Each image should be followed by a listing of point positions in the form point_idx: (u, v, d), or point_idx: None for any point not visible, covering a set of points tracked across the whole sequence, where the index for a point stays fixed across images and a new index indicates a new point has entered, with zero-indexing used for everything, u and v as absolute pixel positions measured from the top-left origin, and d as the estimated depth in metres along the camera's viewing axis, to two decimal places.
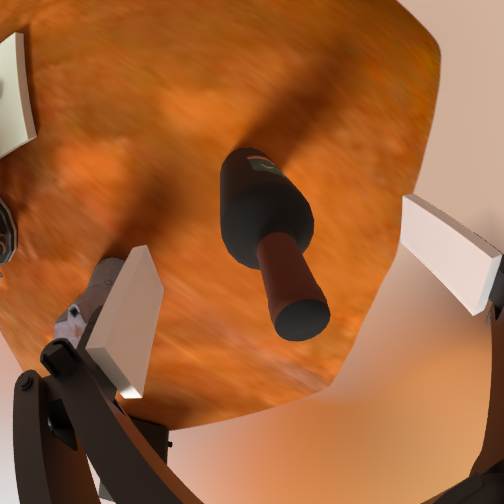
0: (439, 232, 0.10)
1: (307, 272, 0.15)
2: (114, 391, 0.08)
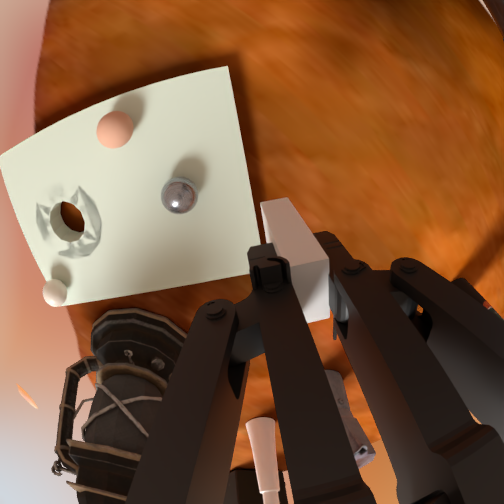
0: None
1: None
2: None
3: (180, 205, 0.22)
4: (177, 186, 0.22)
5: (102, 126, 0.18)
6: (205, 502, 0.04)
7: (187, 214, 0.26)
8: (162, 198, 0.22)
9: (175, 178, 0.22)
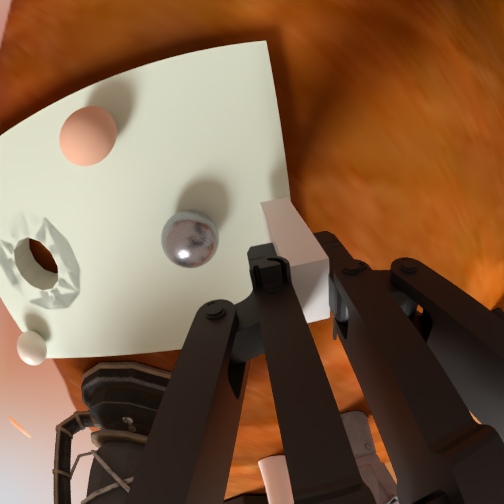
0: None
1: None
2: None
3: (193, 258, 0.14)
4: (187, 228, 0.14)
5: (66, 131, 0.10)
6: (205, 502, 0.04)
7: None
8: (164, 245, 0.14)
9: (183, 214, 0.14)
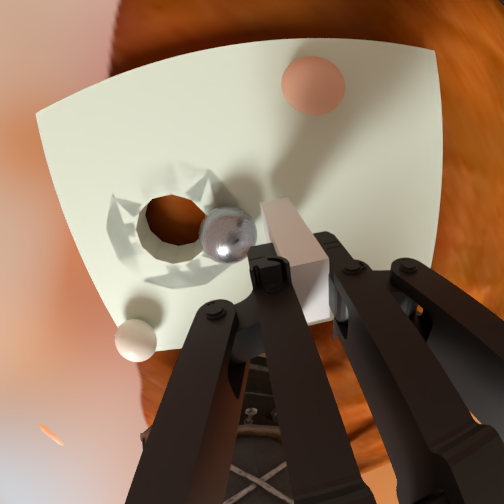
0: None
1: None
2: None
3: (242, 251, 0.15)
4: (236, 221, 0.14)
5: (313, 71, 0.11)
6: (205, 502, 0.04)
7: (373, 227, 0.18)
8: (209, 243, 0.14)
9: (225, 209, 0.15)
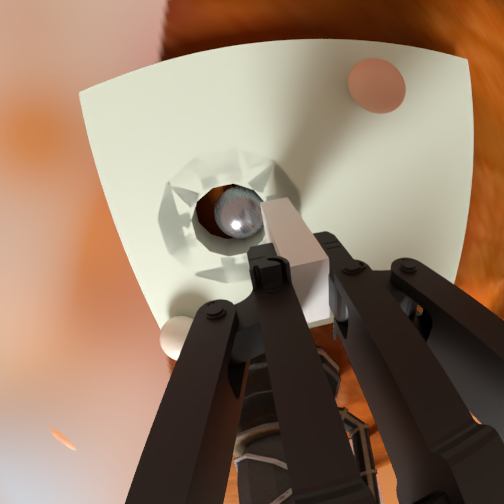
0: None
1: None
2: None
3: None
4: None
5: (383, 73, 0.10)
6: (205, 502, 0.04)
7: (415, 221, 0.18)
8: None
9: None
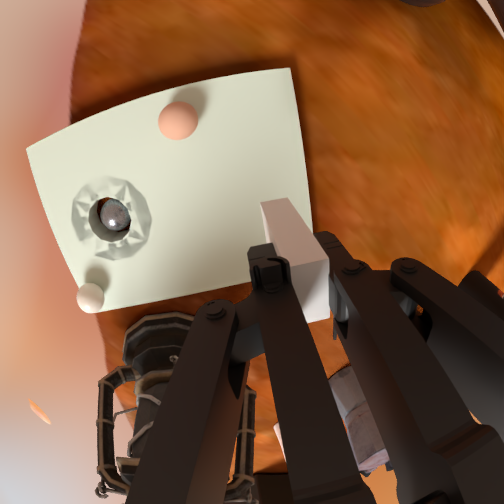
0: None
1: None
2: None
3: None
4: None
5: (169, 114, 0.19)
6: (205, 502, 0.04)
7: (246, 211, 0.26)
8: None
9: None
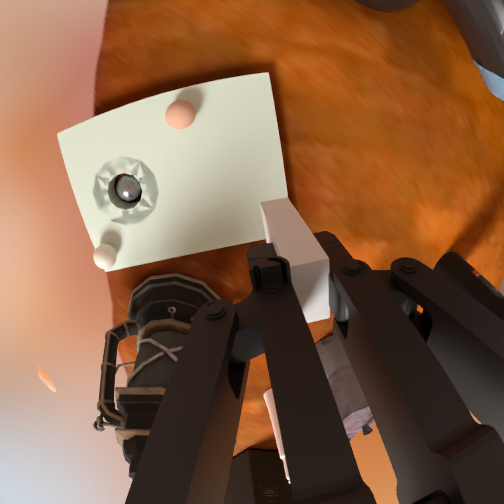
0: None
1: None
2: None
3: None
4: None
5: (173, 110, 0.25)
6: (205, 502, 0.04)
7: (233, 185, 0.32)
8: None
9: None
